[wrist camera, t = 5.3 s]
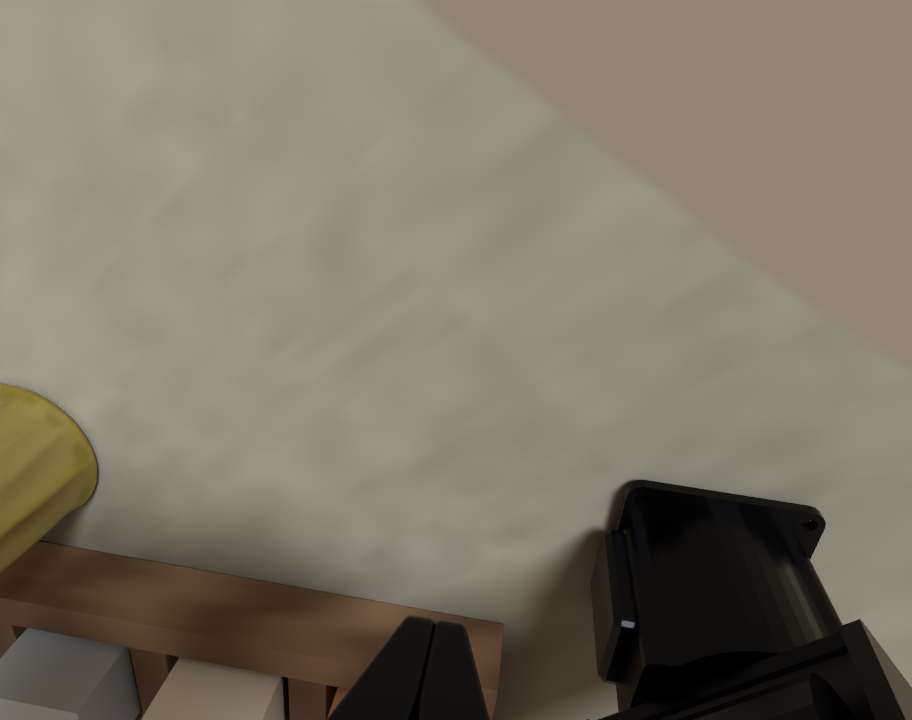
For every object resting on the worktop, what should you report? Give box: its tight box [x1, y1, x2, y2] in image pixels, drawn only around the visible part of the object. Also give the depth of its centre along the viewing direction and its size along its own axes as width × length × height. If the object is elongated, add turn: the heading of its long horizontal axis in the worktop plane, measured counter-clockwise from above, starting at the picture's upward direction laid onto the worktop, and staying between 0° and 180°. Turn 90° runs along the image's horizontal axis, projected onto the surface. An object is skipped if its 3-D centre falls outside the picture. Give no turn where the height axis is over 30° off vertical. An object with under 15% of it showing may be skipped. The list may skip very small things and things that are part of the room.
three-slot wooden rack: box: [0, 541, 504, 720], centre depth 27 cm, size 21×8×3 cm, turn 85°
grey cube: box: [0, 628, 141, 720], centre depth 25 cm, size 4×4×3 cm
